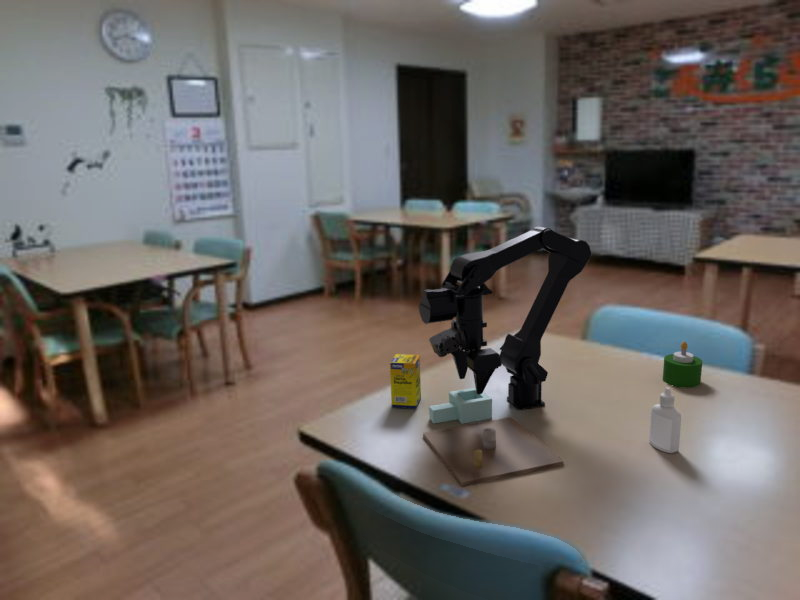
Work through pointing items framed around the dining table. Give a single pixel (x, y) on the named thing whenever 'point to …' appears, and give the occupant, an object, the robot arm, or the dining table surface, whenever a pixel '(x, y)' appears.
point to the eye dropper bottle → (665, 424)
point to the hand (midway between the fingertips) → (470, 386)
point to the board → (490, 451)
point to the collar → (463, 407)
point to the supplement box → (405, 381)
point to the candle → (682, 369)
